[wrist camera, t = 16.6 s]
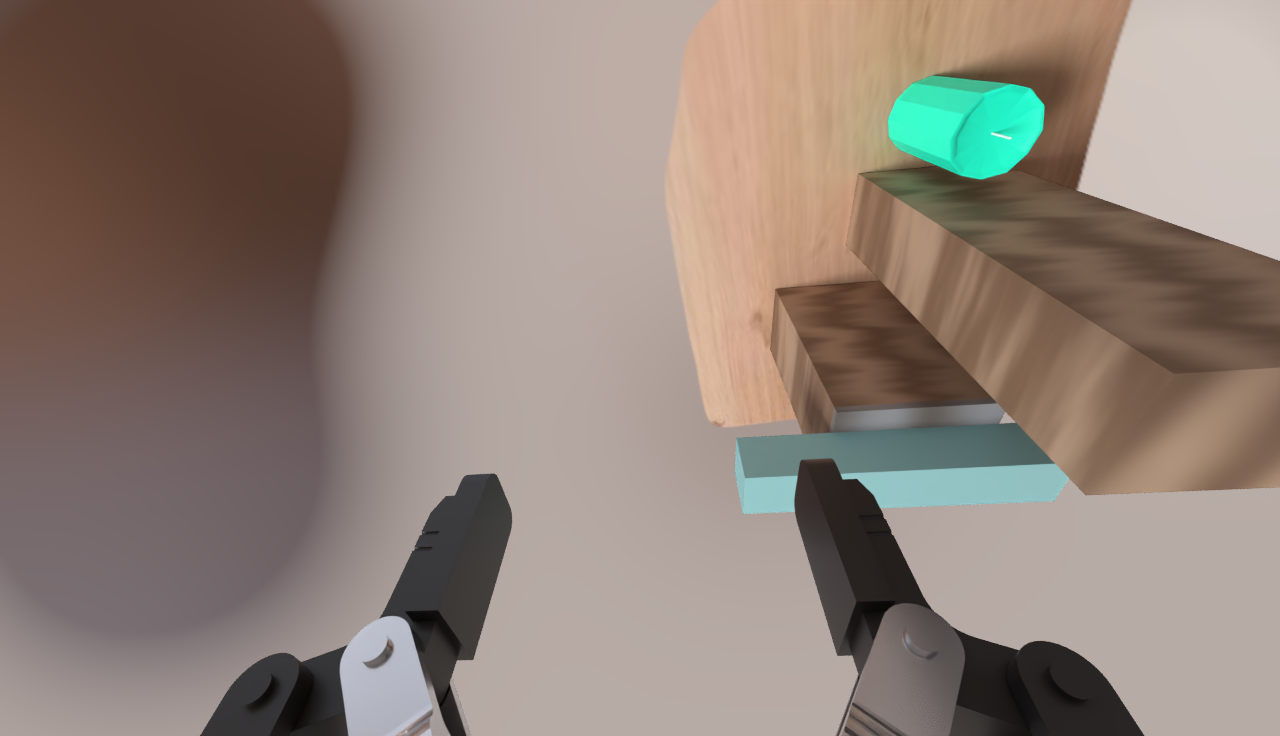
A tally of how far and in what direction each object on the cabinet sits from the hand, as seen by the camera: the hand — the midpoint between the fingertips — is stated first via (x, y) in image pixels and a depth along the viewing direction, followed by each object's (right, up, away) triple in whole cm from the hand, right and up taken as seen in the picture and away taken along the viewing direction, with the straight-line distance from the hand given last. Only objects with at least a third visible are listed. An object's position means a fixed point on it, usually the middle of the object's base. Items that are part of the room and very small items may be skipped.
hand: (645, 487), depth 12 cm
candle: (+25, +26, +28) cm, 45 cm away
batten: (+18, -3, +23) cm, 30 cm away
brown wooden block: (+21, +9, +40) cm, 46 cm away
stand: (+27, +19, +32) cm, 46 cm away
